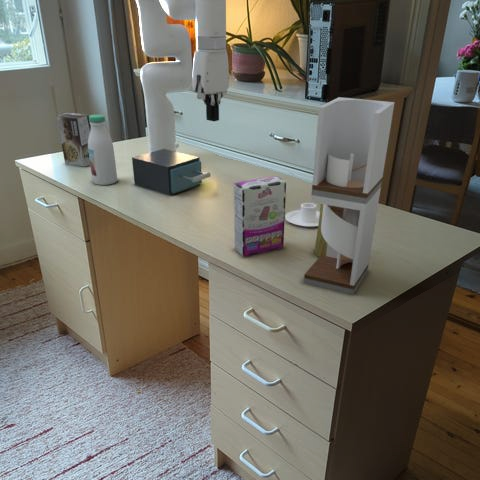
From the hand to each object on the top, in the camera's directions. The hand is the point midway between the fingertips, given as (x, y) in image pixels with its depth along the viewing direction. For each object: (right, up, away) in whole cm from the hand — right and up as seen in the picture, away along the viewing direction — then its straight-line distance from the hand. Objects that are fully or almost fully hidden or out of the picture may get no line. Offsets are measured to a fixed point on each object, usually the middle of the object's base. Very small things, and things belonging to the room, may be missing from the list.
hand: (212, 120), depth 141 cm
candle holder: (+26, -28, -2) cm, 38 cm away
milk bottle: (-36, -11, +24) cm, 44 cm away
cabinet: (-15, -12, +22) cm, 29 cm away
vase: (+28, -39, -19) cm, 52 cm away
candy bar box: (+12, -38, -17) cm, 43 cm away
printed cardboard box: (-49, 0, +41) cm, 64 cm away
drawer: (-12, -13, +19) cm, 26 cm away
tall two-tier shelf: (+28, -45, -29) cm, 61 cm away
